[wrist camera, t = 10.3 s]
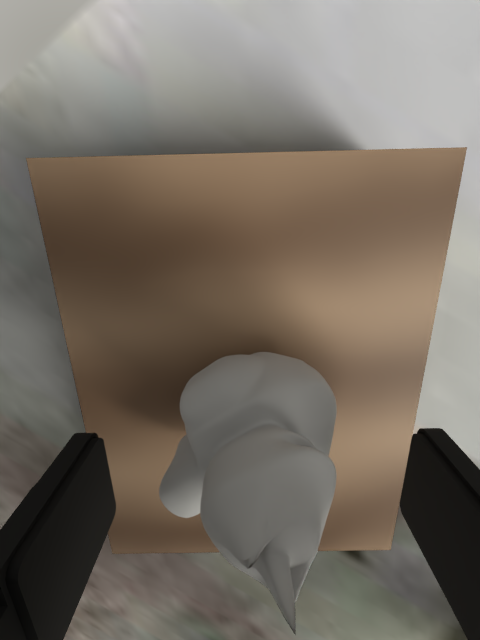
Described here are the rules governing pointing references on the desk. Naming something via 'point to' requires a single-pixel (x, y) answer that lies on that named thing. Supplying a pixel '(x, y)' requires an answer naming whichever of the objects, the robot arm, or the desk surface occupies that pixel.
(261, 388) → the grey lumpy piece
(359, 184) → the walnut block
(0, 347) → the desk surface
